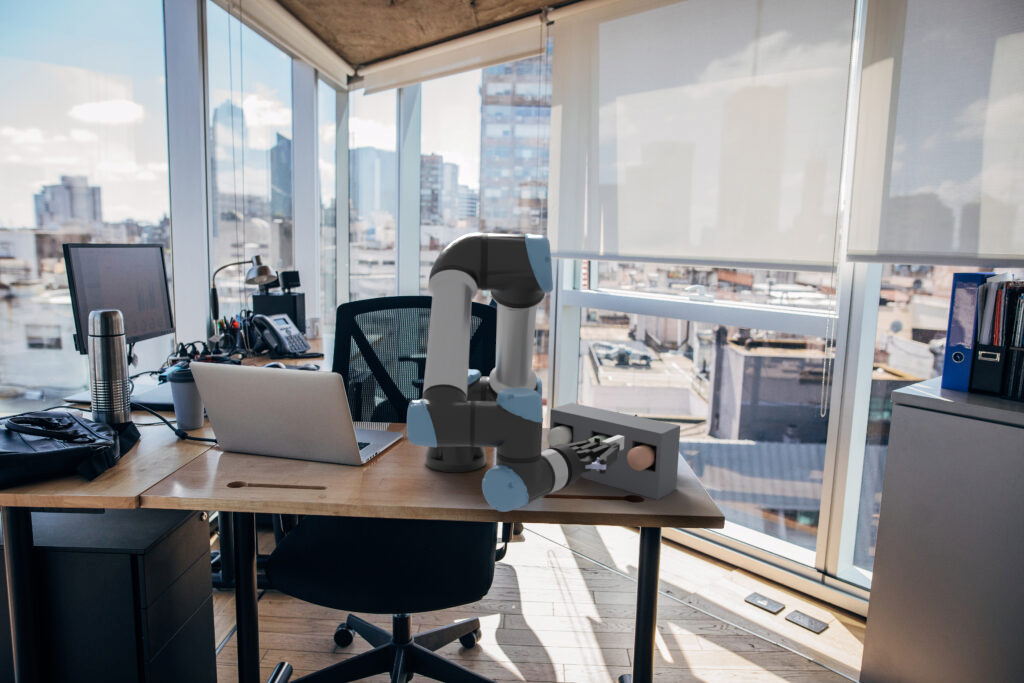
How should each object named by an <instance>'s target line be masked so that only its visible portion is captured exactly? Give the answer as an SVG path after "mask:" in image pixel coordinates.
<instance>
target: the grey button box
mask: <svg viewBox="0 0 1024 683" xmlns="http://www.w3.org/2000/svg"><path fill="white" fill-rule="evenodd" d="M608 410H609V409H604V408H603V409H602V408H599V407H593V406H588V405H584V404H580V403H574V402H570V403H567V404H563V405H560V406H556V407H553V408H550V413H549V414H550V415H549V418H550V420H549V431H550V430H551V429H553V428H556V427H559V426H562V425H567V426H569V427H570V428H571V429H572V431H573V442H572V443H575V442H580V441H585V440H588V439H590V438H592V437H595V436H598V435H600V434H605V435H607V436H608V437H610V438H611V437H614V436H616V435H621V436H624V449H623V450H620V451H618V452H617V460H616V461H615V462H614V463H613V464H612V465H610V466H609V467H608V468H607V469H606V473H605V474H601V473H599V471H597V470H596V469H591V471H590V472H585V473H582V474H581V476H580V477H579V478H582V477H583V479H585V480H586V479H587V480H589V481H593V482H596V483H600V484H603V485H606V486H610V487H613V488H618V489H620V490H624V491H627V492H631V493H634V494H636V495H637V494H638V495H641V496H644V497H647V498H651V499H655V500H657V501H658V500H660V499H662V498H663V497H665V496H667V495H668V494H670V493H672V492H674V491H675V490H677V486H678V485H677V483H678V469H679V455H680V454H679V452H680V440H681V439H680V436H681V425H679V424H675V423H671V422H666V421H660V420H656V419H650V418H646V417H641V416H638V415H637V416H632V415H627V414H623V413H620V412H619V411H617V412H613V411H614V410H610V411H608ZM618 412H619V413H618ZM642 444H647V445H649V446H651V447H652V448H653V449H654V451H655V453H656V461H655V463H654V464H653V465H651V466H649V467H648V468H646V469H644V470H641V471H637V470H634V469H633V468H632V467H631V466H630V465H629V463H628V461H627V455H628V452H629V451H630V450H631V449H633V448H635V447H637V446H640V445H642ZM548 445H549V447H550V446H551V445H550V444H549V443H548ZM583 446H584V445H583ZM549 447H548V448H549Z"/></svg>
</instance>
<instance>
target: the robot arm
mask: <svg viewBox="0 0 1024 683" xmlns="http://www.w3.org/2000/svg"><path fill="white" fill-rule="evenodd" d="M428 276H429V277H428V284H427V285H428V288H427V289H428V292H429V294H430V296H431V297H432V298H431V309H430V310H431V311H430V318H429V319H430V320H429V329H428V339H427V340H428V341H427V349H426V357H425V358H426V360H425V369H424V380H423V388H422V389H423V390H422V398H420V399H413V400H411V401H410V402H409V404H408V407H407V414H406V433H407V434H406V436H407V439H408V442H409V443H410V444H412V445H414V446H421V447H427V448H426V453H425V465H426V466H427V467H428V468H430V469H432V470H435V471H437V472H444V473H466V472H472V471H476V470H480V469H481V468H483V467H484V466H485V465H486V462H487V455H486V450H485V448H495V450H496V451H495V452H496V453H495V455H496V456H495V459H496V460H495V462H496V463H495V465H494V466H493V467H491V468H490V469H488V470H487V471H486V472H485V474H484V476H483V478H482V479H481V480H482V481H481V490H482V494H483V497H484V498H485V500H486V502H487V503H488V504H489V505H490V507H491V508H492V509H494V510H497V512H502V513H505V512H511V511H514V510H516V509H520V508H523V507H526V505H529V504H531V503H532V502H535V501H536V500H538V499H541V498H545V497H546V496H547V495H550V494H552V493H555V492H557V491H559V490H561V489H564V488H567V487H569V486H571V485H573V484H575V483H576V482H578V480H579V478H581V477H580V476H581V474H582V473H585V472H590V471H591V469H596V470H597V471H599V473H601V474H605V473H606V469H607V468H608V467H609V466H610V465H612V464H613V463H614V462H615V461H616V460H617V452H618V451H620V450H623V449H624V436H621V435H616V436H614V437H611V438H609V439H606V440H603V441H601V442H600V438H595V439H594V442H592V443H591V441H589V440H585V441H580V442H575V443H570V444H565V445H563V444H559V445H556V446H550V447H548V448H544V449H542V444H543V425H544V424H543V422H544V418H543V417H544V414H543V382H542V379H541V378H540V377H537V375H536V373H535V371H534V370H533V356H534V343H535V334H536V323H537V322H536V321H537V320H536V319H537V309H538V305H540V304H541V303H542V302H543V300H544V299H545V295H546V294H548V293H551V292H552V291H553V290H554V286H553V285H554V281H553V268H552V254H551V244H550V240H549V238H548V237H547V236H545V235H542V234H531V233H529V232H528V233H525V234H521V233H520V234H517V233H516V234H515V233H514V234H513V233H491V232H490V233H488V232H486V233H485V232H472V233H467V234H464V235H462V236H460V237H458V238H455V240H453V241H452V242H451V243H449V244H448V245H447V246H446V247H445V248H444V249H443V250H442V251H441V253H440V254H439V255H438V256H437V258H436V260H435V261H434V263H433V265H432V267H431V269H430V272H429V275H428ZM478 291H485V292H487V291H488V292H489V291H490V295H491V298H492V300H494V301H493V302H495V303H496V305H497V306H496V335H495V336H496V338H495V341H496V342H495V343H496V344H495V367H494V368H493V369H492V370H491V371H490V374H489V376H486V375H485V376H482V373H481V371H480V370H478V369H474V368H473V369H471V368H469V367H470V365H469V362H470V346H471V345H470V343H471V342H470V340H471V324H472V323H471V320H472V302H473V300H474V299H475V297H476V295H477V293H478ZM583 445H584V446H583Z"/></svg>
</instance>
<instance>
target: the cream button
mask: <svg viewBox="0 0 1024 683" xmlns="http://www.w3.org/2000/svg"><path fill="white" fill-rule="evenodd" d="M546 438H547V441H548V442H547V443H548V445H549V444H550V445H551V446H556V445H559V444H563V445H565V444H570V443H572V442H573V431H572V429H571V428H570V427H569V426H567V425H562V426H559V427H556V428H553V429H551V430H550V429H549V430H548V432H547V437H546Z"/></svg>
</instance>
